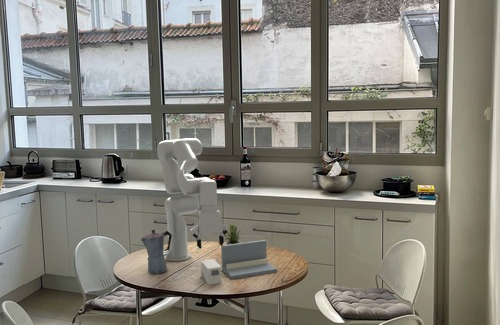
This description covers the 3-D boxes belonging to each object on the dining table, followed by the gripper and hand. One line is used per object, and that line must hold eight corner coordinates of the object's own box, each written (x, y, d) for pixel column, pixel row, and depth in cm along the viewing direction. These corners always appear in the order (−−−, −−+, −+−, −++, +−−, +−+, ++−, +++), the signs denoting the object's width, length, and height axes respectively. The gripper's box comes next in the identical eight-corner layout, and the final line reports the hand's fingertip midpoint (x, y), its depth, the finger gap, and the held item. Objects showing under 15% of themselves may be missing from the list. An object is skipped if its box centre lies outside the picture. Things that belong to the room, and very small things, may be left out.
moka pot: (138, 272, 220) (136, 230, 218) (167, 264, 230) (165, 224, 228) (148, 277, 213) (145, 234, 211) (177, 269, 223) (175, 228, 220)
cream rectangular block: (209, 285, 201) (208, 269, 200) (201, 275, 213) (200, 260, 212) (222, 283, 203) (222, 267, 202) (214, 273, 215) (213, 258, 214)
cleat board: (231, 279, 208) (230, 253, 206) (222, 269, 221) (221, 245, 219) (277, 271, 215) (276, 247, 214) (265, 263, 228) (265, 239, 227)
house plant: (215, 251, 250) (214, 221, 248) (240, 248, 254) (239, 218, 252) (222, 259, 236) (221, 227, 235) (248, 255, 241) (247, 224, 239)
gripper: (191, 211, 199) (193, 251, 200) (230, 207, 204) (231, 246, 206) (187, 208, 206) (189, 247, 207) (225, 204, 211) (226, 242, 213)
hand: (210, 246), depth 207 cm, fingers open, 9 cm apart
